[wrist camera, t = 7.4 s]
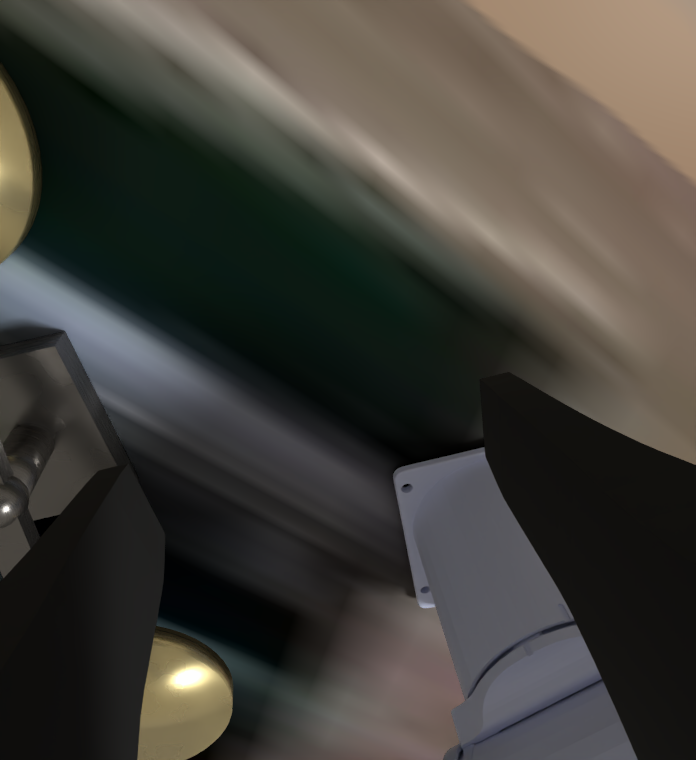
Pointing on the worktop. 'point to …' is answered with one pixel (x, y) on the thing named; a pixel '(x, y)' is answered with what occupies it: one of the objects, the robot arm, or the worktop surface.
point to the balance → (80, 466)
